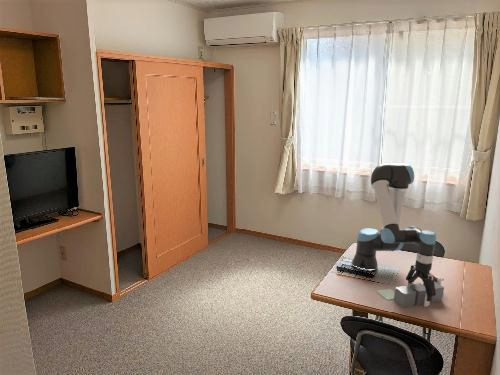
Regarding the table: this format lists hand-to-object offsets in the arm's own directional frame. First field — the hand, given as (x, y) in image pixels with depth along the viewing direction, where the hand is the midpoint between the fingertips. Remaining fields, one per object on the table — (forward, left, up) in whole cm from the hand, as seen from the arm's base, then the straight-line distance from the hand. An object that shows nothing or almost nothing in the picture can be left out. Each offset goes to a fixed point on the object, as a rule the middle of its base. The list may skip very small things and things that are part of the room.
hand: (417, 300), depth 199 cm
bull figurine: (-9, +18, 0) cm, 20 cm away
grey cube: (0, +9, 0) cm, 9 cm away
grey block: (0, -9, 0) cm, 9 cm away
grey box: (0, 0, 0) cm, 0 cm away
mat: (-9, -11, 0) cm, 14 cm away
